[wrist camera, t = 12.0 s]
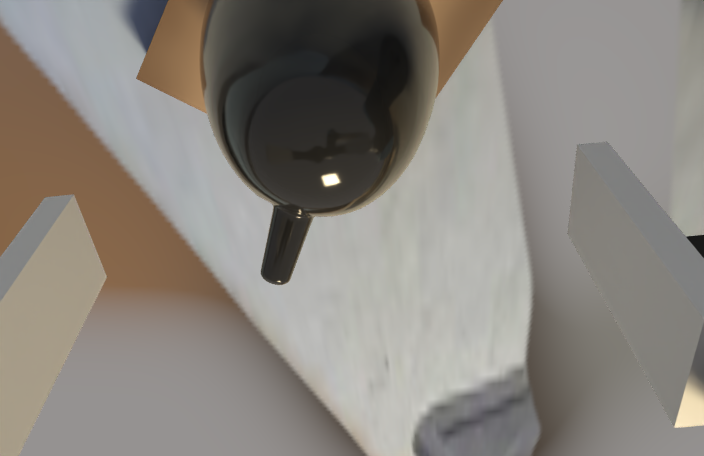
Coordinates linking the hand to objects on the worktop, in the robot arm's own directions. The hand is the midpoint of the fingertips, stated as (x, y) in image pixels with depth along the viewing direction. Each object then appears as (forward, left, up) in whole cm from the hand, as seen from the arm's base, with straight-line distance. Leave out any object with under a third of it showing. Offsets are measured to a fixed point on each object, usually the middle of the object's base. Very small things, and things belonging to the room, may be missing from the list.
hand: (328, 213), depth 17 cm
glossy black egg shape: (0, 0, -17) cm, 17 cm away
